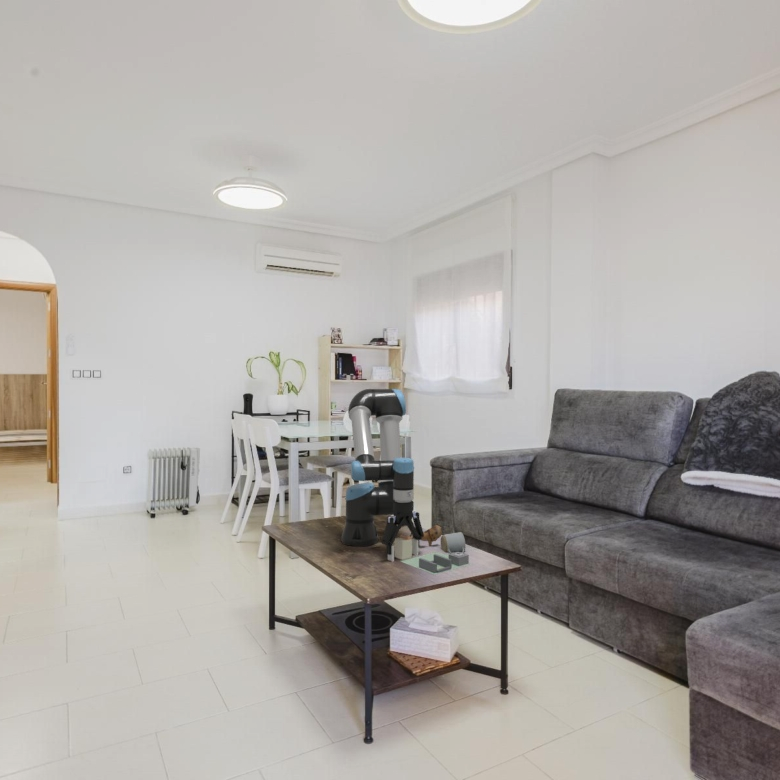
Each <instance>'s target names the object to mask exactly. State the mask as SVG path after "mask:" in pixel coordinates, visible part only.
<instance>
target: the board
mask: <svg viewBox="0 0 780 780" xmlns="http://www.w3.org/2000/svg"><path fill="white" fill-rule="evenodd" d="M435 554H436V555H439V556H442V557H445V558H448V559H449V555H447V554H444V553H441V552H438V551H435V552H431V553H427V554H423V555H420V556H416V557H412V558H408V559H404V560H400V561H399V562H400V563H403V564H406V565H408V566H410V567H413V568H416V569H419V570H421V571H424V572H426V573H429V574H432V575H433V576H436V575H438V574H443V573H446V572H450V571H452V570H455V569H459V568H462V567H463V568H464V567H466V566H469V565H471V563H470V562H469V563H468V564H465V565H462V566H456V565H454V564H452V568H451V569H450V570H447V571H443V572H440V573H433V572H430V571H428V570H425V569H422V568H420V567H419V558H422V559H425V560H428V561H434V555H435ZM438 567H441V568H444V567H443V566H440V565H437V569H441V568H438Z"/></svg>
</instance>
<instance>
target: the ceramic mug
mask: <svg viewBox="0 0 780 780" xmlns="http://www.w3.org/2000/svg"><path fill="white" fill-rule="evenodd" d="M440 548H441V550H442V551H443V552H444V553H448V555H449V554H452V553H455V552H461V553H464V552H465V551H466V539H465V536H464V534H463V532H461V531H460V532H459V531H458V532H454V533H453V532H452V533H445V534H442V535H441V536H440ZM464 554H465V553H464Z"/></svg>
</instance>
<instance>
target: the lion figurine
mask: <svg viewBox="0 0 780 780" xmlns="http://www.w3.org/2000/svg"><path fill="white" fill-rule="evenodd" d="M423 533H424V536H423V537H422V539H421V540H420V541H422V542H427V543H428V547H432V543H433V542H436V541H437V540H438V539H439V538H440V539H441V537H442V535H443V533H442V527H441V526H440V525H433V526H432V527H430V528H428V529H427V530H425V531H423ZM409 536H410V537H411V539H415V538H414V537H413V535H412V533H411V532H410V534H409Z"/></svg>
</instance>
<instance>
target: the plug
mask: <svg viewBox="0 0 780 780" xmlns="http://www.w3.org/2000/svg"><path fill="white" fill-rule="evenodd" d="M394 558H396V559H399V560H400V561H403V560H407V559H411V558H413V554H412V536H411V537H410V535H405V534H400V535H399V537H396V538H395V540H394Z"/></svg>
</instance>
